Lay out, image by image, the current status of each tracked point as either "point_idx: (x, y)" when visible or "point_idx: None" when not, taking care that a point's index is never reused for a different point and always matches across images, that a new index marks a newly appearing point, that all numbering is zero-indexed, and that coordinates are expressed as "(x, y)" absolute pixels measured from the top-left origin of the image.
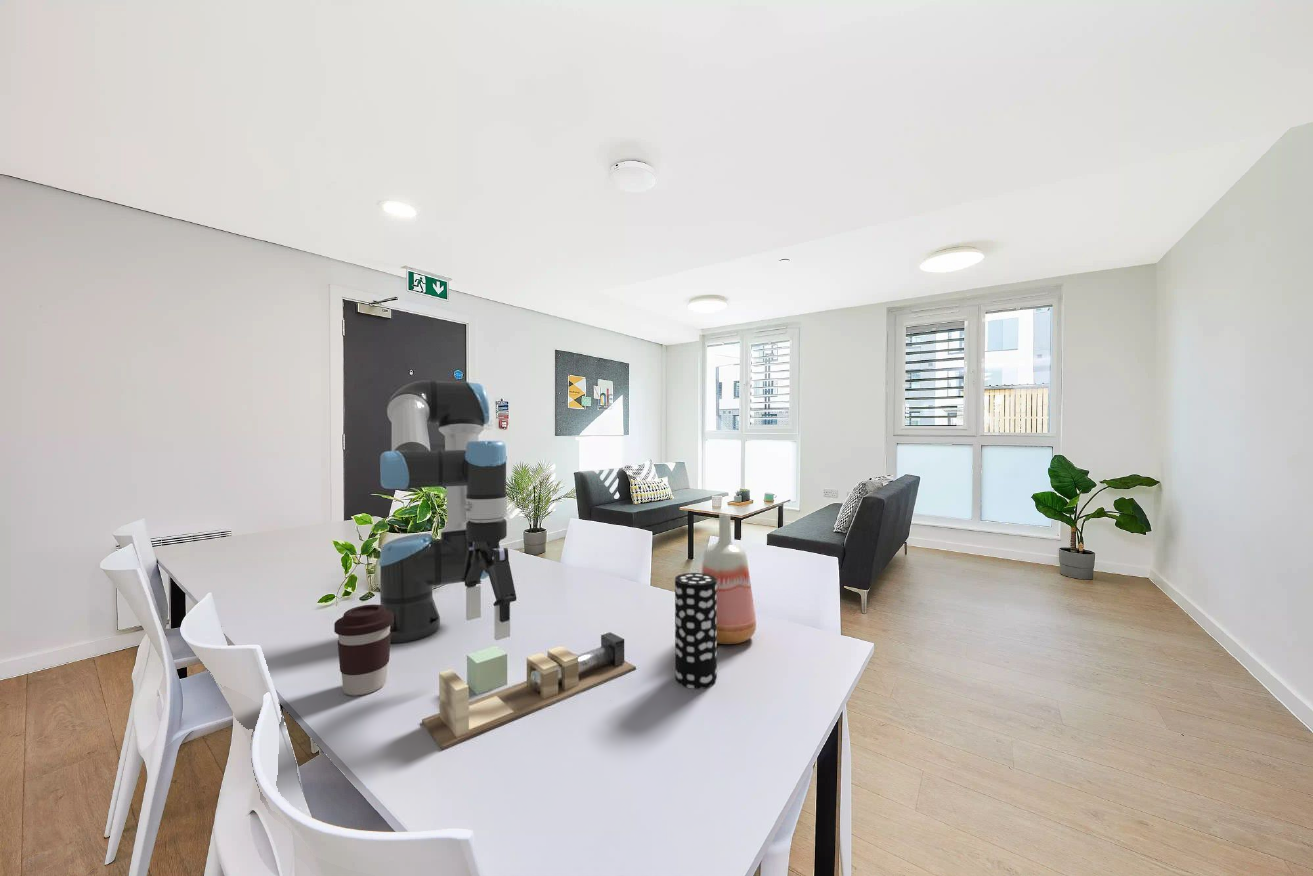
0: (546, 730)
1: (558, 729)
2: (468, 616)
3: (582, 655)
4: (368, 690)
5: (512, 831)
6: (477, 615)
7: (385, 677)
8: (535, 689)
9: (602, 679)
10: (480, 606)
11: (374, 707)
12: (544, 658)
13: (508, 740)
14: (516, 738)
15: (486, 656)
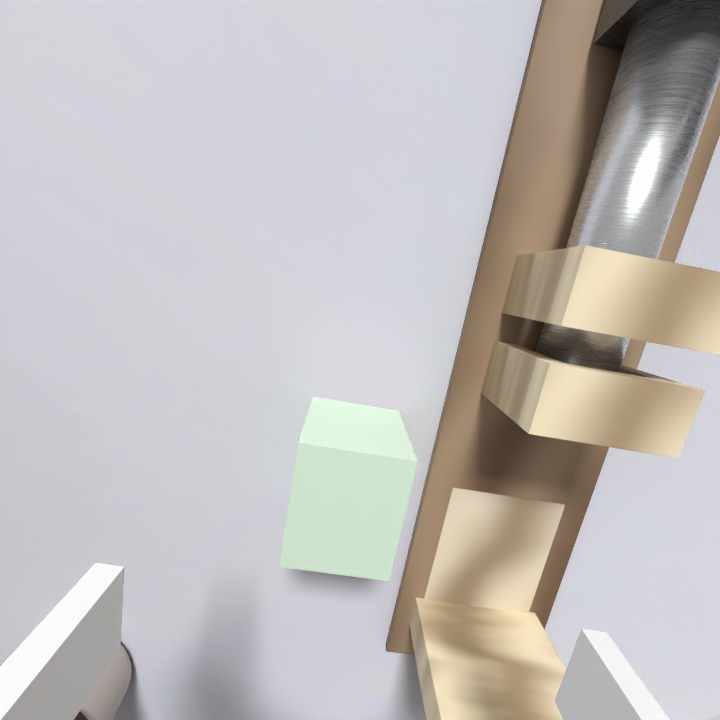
0: (687, 487)
1: (713, 467)
2: (100, 671)
3: (667, 191)
4: (128, 683)
5: None
6: (110, 605)
7: None
8: None
9: (693, 189)
10: (57, 654)
11: (219, 681)
12: (612, 393)
13: (629, 563)
14: (641, 548)
15: (365, 529)
